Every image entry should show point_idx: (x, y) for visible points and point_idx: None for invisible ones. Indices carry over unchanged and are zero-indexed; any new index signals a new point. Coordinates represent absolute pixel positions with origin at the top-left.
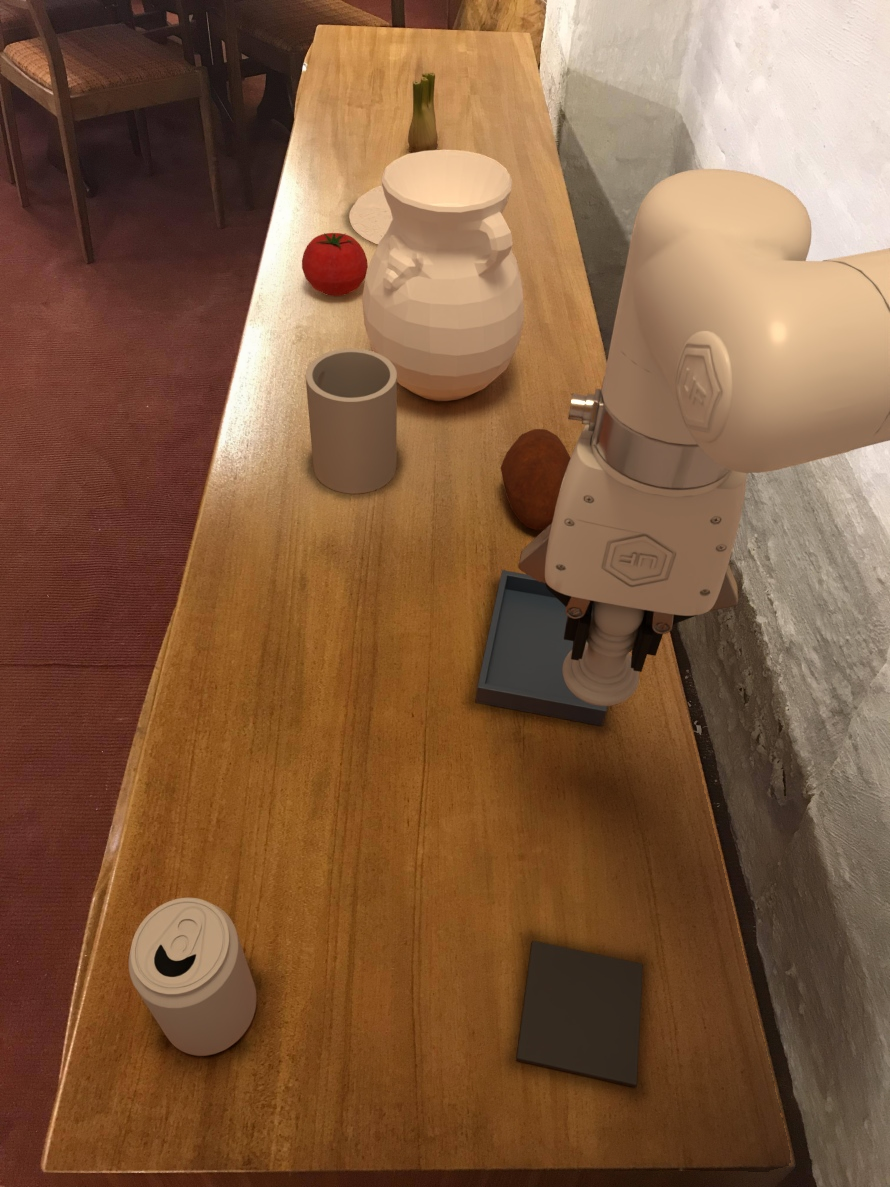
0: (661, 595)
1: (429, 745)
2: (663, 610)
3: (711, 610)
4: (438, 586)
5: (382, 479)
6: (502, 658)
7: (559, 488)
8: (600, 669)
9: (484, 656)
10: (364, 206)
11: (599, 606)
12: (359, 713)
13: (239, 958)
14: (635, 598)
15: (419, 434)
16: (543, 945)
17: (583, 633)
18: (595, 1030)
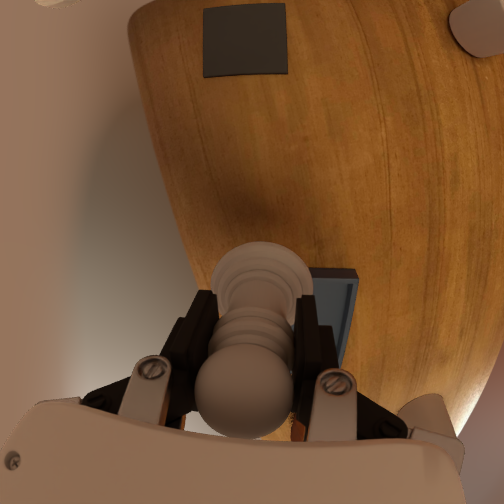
0: (104, 478)
1: (387, 225)
2: (108, 426)
3: (73, 397)
4: (380, 353)
5: (408, 408)
6: (335, 309)
7: (300, 430)
8: (263, 288)
9: (353, 306)
10: None
11: (283, 401)
12: (435, 243)
13: (495, 7)
14: (183, 472)
15: None
16: (278, 70)
17: (308, 341)
18: (233, 27)
